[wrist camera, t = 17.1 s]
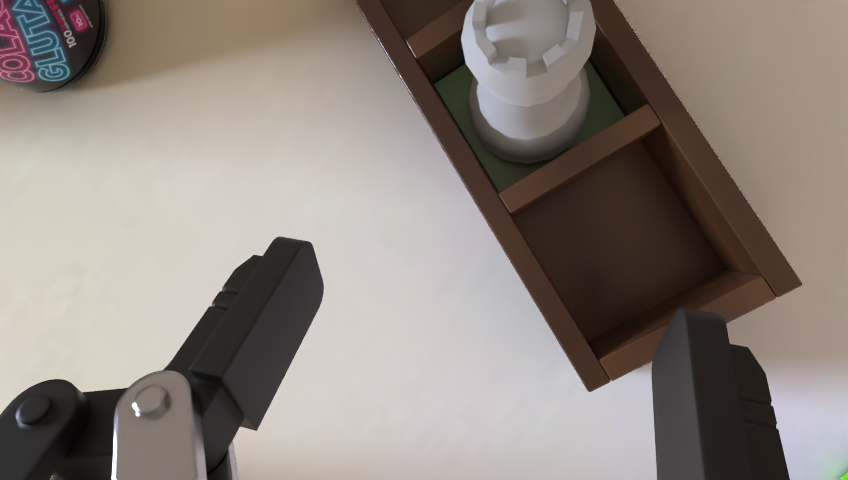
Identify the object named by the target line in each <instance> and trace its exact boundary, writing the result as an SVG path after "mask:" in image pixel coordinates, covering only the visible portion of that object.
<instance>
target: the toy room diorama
mask: <svg viewBox="0 0 848 480" xmlns="http://www.w3.org/2000/svg"><path fill="white" fill-rule="evenodd" d="M840 480H848V471H847V472H846V473H845V474H844V475H843V476H842V477H841V479H840Z"/></svg>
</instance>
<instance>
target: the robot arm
mask: <svg viewBox="0 0 848 480" xmlns="http://www.w3.org/2000/svg"><path fill="white" fill-rule="evenodd" d="M323 290H324V285H323V280H322V276H321V273H320V269H319V266H318V262H317V259H316V255H315V252H314V248H313V245H312V244H311V243H310V242H308V241H303V240H297V239H291V238H285V237H277V238H276V239H274V240H273V242H272V243H271V244H270V246H269V247H268V249H267V250H266V252H265V254H264V255H263V256H257V255H253V256H252V257H251V258H249V259H248V260H247V261H245V262H244V263H243V264H242V265H240V266H239V267H238V268H236V269H235V270H234V272H233V273H232V275H231V276H230V278H229V279H228V280H227V282H226V283H225V285H224V286H223V289H222V291H221V292H219V293H218V295H217V296H216V298H215V299H214V301H213V302H212V306H211V307H210V306H209V308H208V309H207V311H206V312H205V313H204V315H203V316H202V318H201V319H200V321H199V322H198V324H197V325H196V326H195V328H194V329H193V331H192V332H191V334H190V335H189V336H188V338H187V339H186V341H185V342H184V344H183V345H182V347H181V348H180V349H179V351H178V352H177V354H176V355H175V357H174V358H173V359H172V361H171V362H170V363H169V365H168V366H167V367H166V368H165V369H164V370H162V371H157V372H153V373H150V374H148V375H146V376H144V377H142V378H140V379H139V380H137V381H136V382H134V383H133V384H132V385H131V386H130V387H129V388H124V389H114V390H103V391H93V392H83V393H82V392H81V391H79V390H78V389H77V388H76V387H75V386H74V385H73V384H72V383H70V382H68V381H66V380H60V379H54V380H48V381H44V382H41V383H38V384H36V385H34V386H32V387H30V388H28V389H27V390H25V391H24V392H22V393H21V394H20V395H18V396H17V397H16V398H15V399H14V400H13V401H12V402H11V403H10V404H9V405H8V406H7V407H6V409H5V410H4V411H3V412H2V414H1V415H0V480H49V479H50V478H51V476H52V475H54V477H53V478H52V480H239V479H238V472H237V465H236V457H235V450H234V444H233V441H232V440H233V438H234V437H235V435H236V433H237V431H238V429H239V427H240V426H241V427H244V428H248V429H252V430H256V431H257V429H258V427H259V425H260V423H261V421H262V419H263V417H264V415H265V413H266V411H267V409H268V408H269V406H270V404H271V402H272V400H273V398H274V396H275V394H276V392H277V390H278V388H279V386H280V384H281V382H282V380H283V378H284V376H285V374H286V372H287V370H288V368H289V366H290V364H291V362H292V360H293V358H294V356H295V354H296V352H297V350H298V348H299V346H300V344H301V342H302V340H303V338H304V336H305V335H306V333H307V331H308V329H309V327H310V325H311V323H312V321H313V319H314V317H315V315H316V313H317V311H318V309H319V307H320V304H321V301H322V297H323ZM652 390H653V409H654V427H655V445H656V463H657V480H790V478H789V474H788V470H787V465H786V461H785V457H784V452H783V448H782V444H781V439H780V435H779V430H778V429H776V424H777V422H776V417H775V413H774V409H773V406H771V401H772V400H771V396H770V391H769V387H768V382H767V378H766V374H765V372H764V371H763V369H762V368H761V366H760V365H759V363H758V362H757V360H756V359H755V357H754V356H753V354H752V353H751V351H750V350H749V348H748V347H743V346H738V345H733V344H729V338H728V333H727V327H726V322H725V320H724V318H723V316H722V315H720V314H715V313H709V312H704V311H698V310H692V309H686V308H678V309H677V311H676V312H675V314H674V316H673V318H672V320H671V321H670V323H669V325H668V327H667V329H666V331H665V333H664V334H663V336H662V338H661V340H660V342H659V344H658V345H657V348H656V350H655V353H654V357H653V363H652Z"/></svg>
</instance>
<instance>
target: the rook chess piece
mask: <svg viewBox="0 0 848 480" xmlns="http://www.w3.org/2000/svg"><path fill="white" fill-rule="evenodd" d="M595 31H596V25H595V20H594V15H593V11H592V6H591V2H590V1H589V0H475V1H474V2H473V4H472V5H471V7H470V8H469V10H468V12H467V13H466V16H465V21H464V26H463V31H462V37H461V42H462V47H463V52H464V57H465V62H466V65H467V66H468V67H469V69H470V70H471V72H472V73H473V75H474V77H473V79H472V84H471V89H470V94H469V99H468V104H469V110H470V115H471V120H472V125H473V130H474V131H475V133H476V134H477V136H478V137H479V139H480V140H481V142H482V143H483V144H484V146H485V147H486V148H487V149H488V150H490V151H491V152H493V153H495V154H496V155H498V156H499V157H501V158H503V159H504V160H508V161H514V162H520V163H526V164H529V163H534V162H538V161H543V160H547V159H552V158H553V157H555V156H556V155H557V154H559V153H560V152H562V151H563V150H565V149H566V148H568V147H569V146H571V145H572V144H573V142H574V141H575V139H576V138H577V136H578V135H579V133H580V132H581V130H582V129H583V127H584V126H585V124H586V119H587V115H588V110H589V105H590V97H591V92H590V87H589V82H588V77H587V72H586V70H585V69H584V67H583V65H584V64H585V62H586V61H587V59H588V58H589V56H590V55H591V51H592V46H593V41H594V36H595Z"/></svg>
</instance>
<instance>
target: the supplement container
mask: <svg viewBox="0 0 848 480" xmlns="http://www.w3.org/2000/svg"><path fill="white" fill-rule="evenodd" d="M106 36H107V13H106V8H105V3H104V0H0V83H3V84H6V85H9V86H13V87H16V88H19V89H23V90H26V91H30V92H34V93H51V92H57V91H61V90H64V89H67V88H69V87H71V86H73V85H75V84H76V83H78V82H79V81H81V80H82V79H83V78H84V77H85V76H86V75H87V74H88V73H89V72H90V71H91V70H92V69H93V67H94V66H95V65H96V63H97V61H98V60H99V58H100V56H101V53H102V51H103V48H104V45H105V41H106Z"/></svg>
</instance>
